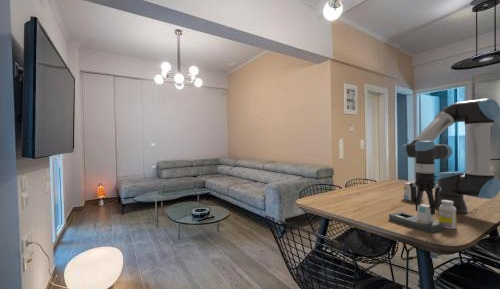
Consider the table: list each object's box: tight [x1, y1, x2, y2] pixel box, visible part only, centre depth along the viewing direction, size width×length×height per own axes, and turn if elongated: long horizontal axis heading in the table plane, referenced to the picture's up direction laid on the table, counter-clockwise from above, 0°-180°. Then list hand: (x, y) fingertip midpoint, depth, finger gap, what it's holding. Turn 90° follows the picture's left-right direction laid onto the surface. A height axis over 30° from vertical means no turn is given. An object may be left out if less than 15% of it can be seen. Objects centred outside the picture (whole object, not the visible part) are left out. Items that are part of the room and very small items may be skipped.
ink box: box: [403, 179, 424, 202], centre depth 164 cm, size 9×8×13 cm
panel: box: [388, 211, 444, 234], centre depth 118 cm, size 10×20×3 cm, turn 25°
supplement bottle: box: [438, 200, 457, 230], centre depth 114 cm, size 7×7×13 cm
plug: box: [418, 203, 432, 224], centre depth 113 cm, size 5×4×11 cm
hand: (425, 219), depth 114 cm, fingers open, 4 cm apart
